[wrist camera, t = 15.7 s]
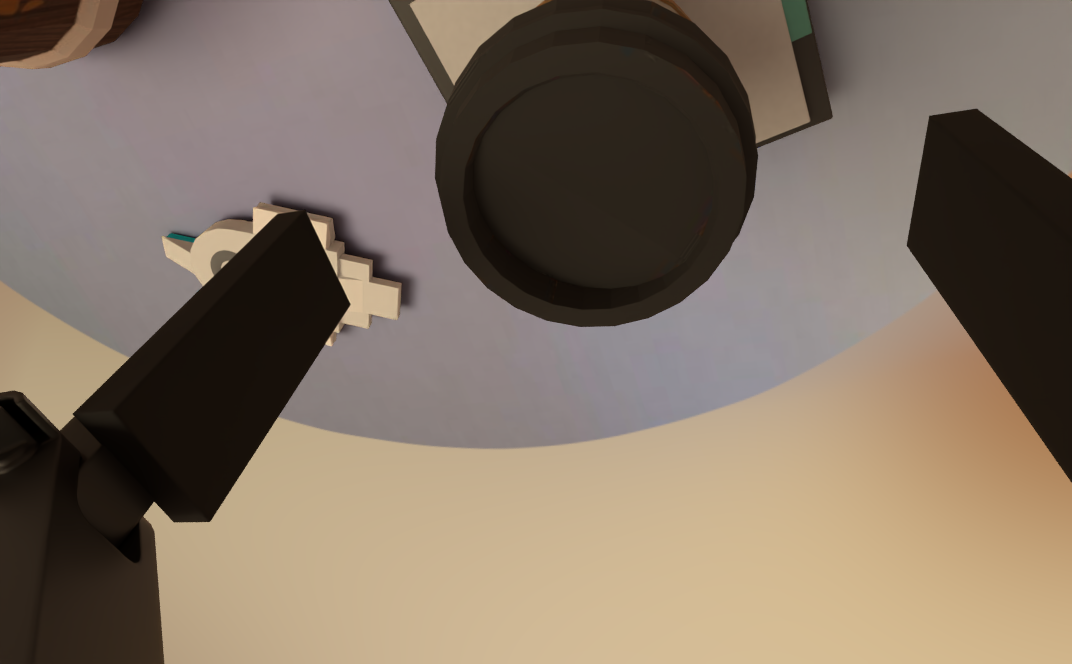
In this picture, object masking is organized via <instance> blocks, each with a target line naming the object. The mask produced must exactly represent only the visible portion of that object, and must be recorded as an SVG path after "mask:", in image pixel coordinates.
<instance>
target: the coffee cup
mask: <svg viewBox="0 0 1072 664" xmlns="http://www.w3.org/2000/svg"><path fill="white" fill-rule="evenodd" d="M757 160H758V152H757V147H756V134H755V129H754V123H753V118H752V113H751V108H750V103H749V98H748V94H747V92H746V90H745V88H744V86H743V84H742V83H741V81H740V79H739V77H738V75H737V73H736V71H735V69H734V68H733V66H732V64H731V62H730V60H729V58H728V56H727V55H726V54H725V53H724V52H723V51H722V50H721V49H720V48H719V47H718V46H717V45H716V44H715V43H714V42H713V41H712V40H711V39H710V38H709V37H708V36H707V35H706V34H705V33H704V32H703V31H702V30H701V29H700V28H699V27H698V26H697V25H696V24H695V23H693V22H692V21H691V20H690V18H689V17H688V16H687V15H686V14H685V13H684V11H683V10H682V9H681V8H680V7H679V6H678V5H677V4H676V3H675V2H674V1H673V0H544V1H543V2H541V3H540V4H539V5H538V6H537V7H535V8H534V9H531V10H529V11H527V12H524V13H522V14H520V15H518V16H515V17H513V18H512V19H511V20H510V21H509V22H507V23H506V24H505V25H504V26H503V27H502V28H500V29H499V30H498V31H497V32H496V33H494V34H493V35H492V36H491V37H490V38H488V39H487V40H486V41H485V42H484V43H483V44H481V45H480V46H479V47H478V49H477V50H476V52H475V53H474V55H473V56H472V58H471V59H470V61H469V62H468V64H467V65H466V67H465V68H464V70H463V71H462V73H461V74H460V76H459V77H458V79H457V80H456V82H455V85H454V88H453V91H452V94H451V95H450V98H449V100H448V104H447V107H446V110H445V113H444V116H443V119H442V122H441V126H440V129H439V132H438V135H437V138H436V165H435V180H436V184H437V188H438V192H439V197H440V201H441V205H442V209H443V213H444V217H445V222H446V226H447V230H448V233H449V235H450V237H451V238H452V240H453V242H454V244H455V246H456V248H457V250H458V252H459V253H460V255H461V257H462V259H463V261H464V263H465V264H466V265H467V266H468V267H469V268H470V269H471V270H472V272H473V273H474V274H475V275H476V276H477V277H478V278H479V279H480V280H481V282H482V283H483V284H484V285H485V286H486V287H487V288H488V289H490V290H491V291H492V292H494V293H495V294H497V295H498V296H500V297H501V298H502V299H504V300H505V301H507V302H508V303H509V304H511V305H512V306H514V307H515V308H518V309H520V310H522V311H525V312H527V313H530V314H532V315H534V316H537V317H539V318H542V319H544V320H546V321H552V322H557V323H562V324H568V325H573V326H578V327H594V326H617V325H621V324H625V323H629V322H634V321H638V320H642V319H646V318H649V317H652V316H654V315H656V314H658V313H660V312H662V311H664V310H666V309H668V308H670V307H672V306H674V305H676V304H678V303H680V302H681V301H683V300H684V299H685V298H686V297H688V296H689V295H690V294H691V293H693V292H694V291H695V290H696V289H697V288H699V287H700V286H701V285H702V284H704V283H705V282H706V281H707V280H708V279H709V278H710V276H711V275H712V274H713V272H714V271H715V270H716V268H717V267H718V266H719V264H720V263H721V262H722V260H723V259H724V258H725V256H726V255H727V254H728V252H729V251H730V248H731V246H732V243H733V242H734V240H735V239H736V238H737V236H738V235H739V233H740V231H741V228H742V225H743V223H744V220H745V218H746V215H747V213H748V210H749V208H750V205H751V203H752V200H753V198H754V190H755V180H756V170H757Z"/></svg>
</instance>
